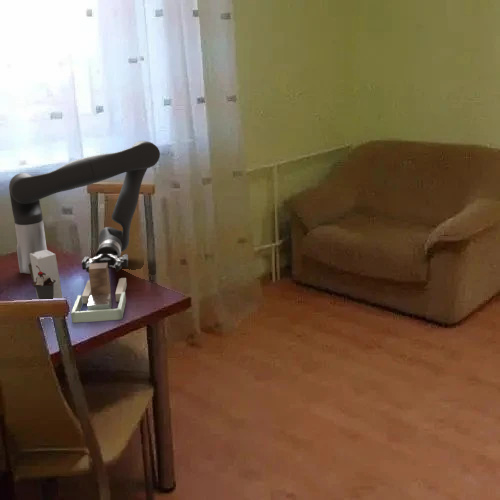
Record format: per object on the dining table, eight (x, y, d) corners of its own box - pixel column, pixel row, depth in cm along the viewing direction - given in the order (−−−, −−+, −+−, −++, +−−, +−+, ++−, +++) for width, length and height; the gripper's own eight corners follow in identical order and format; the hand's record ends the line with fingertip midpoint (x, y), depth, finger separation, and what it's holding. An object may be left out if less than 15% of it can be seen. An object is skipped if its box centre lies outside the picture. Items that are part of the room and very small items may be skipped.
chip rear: (89, 313, 223) (88, 300, 221) (91, 308, 226) (89, 295, 225) (110, 311, 223) (109, 298, 222) (111, 306, 227) (110, 294, 226)
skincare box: (63, 300, 233) (57, 254, 228) (44, 305, 230) (37, 258, 225) (53, 293, 240) (48, 248, 235) (35, 297, 236) (28, 252, 232)
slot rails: (82, 303, 230) (81, 296, 229) (88, 287, 243) (87, 280, 242) (122, 301, 230) (122, 293, 229) (126, 285, 244) (125, 277, 243)
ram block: (93, 307, 227) (88, 269, 223) (95, 301, 231) (90, 263, 228) (110, 306, 227) (105, 268, 223) (111, 300, 232) (107, 262, 228)
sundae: (38, 311, 225) (31, 263, 221) (61, 309, 226) (55, 261, 221) (34, 320, 219) (27, 270, 215) (58, 318, 220) (51, 268, 215)
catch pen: (72, 322, 216) (70, 313, 215) (79, 304, 229) (77, 295, 228) (121, 319, 216) (120, 309, 216) (126, 301, 230) (125, 292, 229)
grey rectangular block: (88, 318, 219) (87, 305, 218) (90, 313, 223) (89, 300, 221) (110, 316, 219) (108, 303, 218) (111, 311, 223) (109, 298, 222)
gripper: (85, 243, 250) (78, 259, 235) (129, 241, 251) (124, 256, 236) (88, 265, 253) (80, 282, 237) (131, 262, 253) (127, 279, 238)
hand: (102, 269), depth 236 cm, fingers open, 8 cm apart
